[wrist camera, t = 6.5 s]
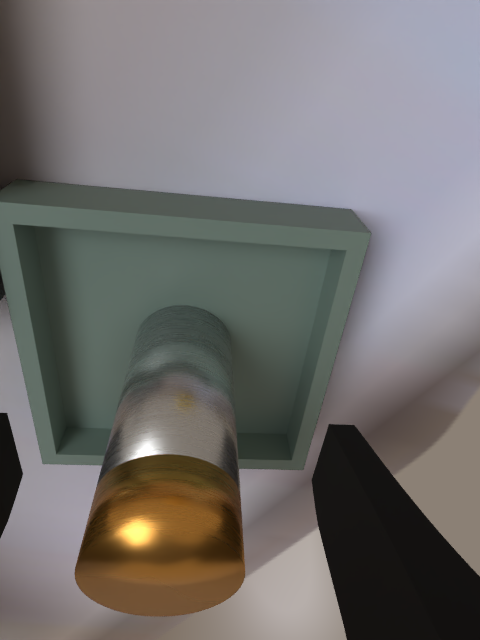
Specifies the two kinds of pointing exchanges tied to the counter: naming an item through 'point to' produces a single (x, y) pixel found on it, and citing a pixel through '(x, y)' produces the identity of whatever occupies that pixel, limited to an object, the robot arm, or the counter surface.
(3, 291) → the block
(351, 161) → the counter surface
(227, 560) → the small bottle
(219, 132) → the counter surface
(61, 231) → the tray
